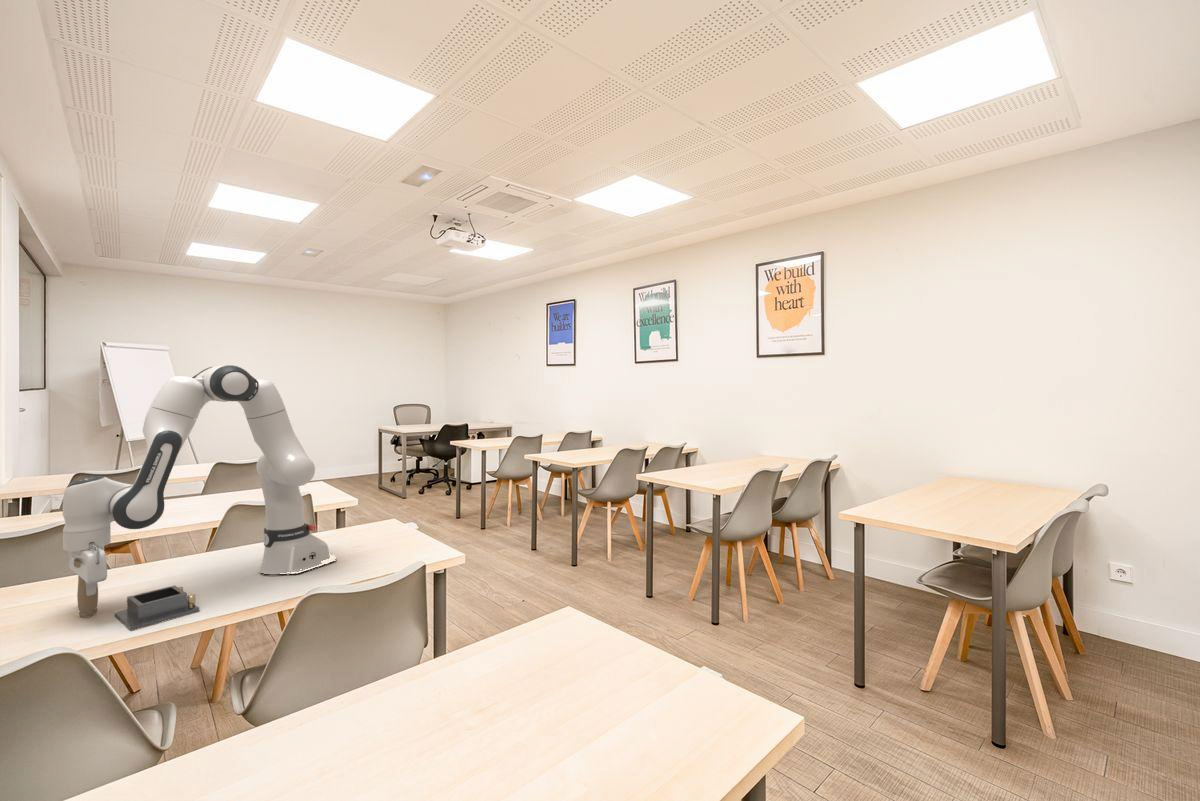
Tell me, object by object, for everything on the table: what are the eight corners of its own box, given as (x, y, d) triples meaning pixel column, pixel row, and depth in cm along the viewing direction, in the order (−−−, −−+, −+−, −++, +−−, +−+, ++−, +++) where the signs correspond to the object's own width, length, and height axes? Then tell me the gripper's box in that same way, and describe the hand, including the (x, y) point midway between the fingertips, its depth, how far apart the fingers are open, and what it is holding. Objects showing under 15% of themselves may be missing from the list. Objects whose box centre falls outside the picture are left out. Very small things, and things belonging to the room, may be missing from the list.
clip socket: (180, 598, 146) (180, 581, 146) (199, 611, 138) (199, 592, 138) (114, 616, 135) (114, 597, 135) (130, 630, 127) (130, 610, 127)
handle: (77, 622, 131) (77, 563, 131) (72, 615, 135) (71, 558, 135) (103, 615, 135) (103, 558, 135) (97, 609, 139) (97, 553, 139)
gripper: (115, 543, 131) (115, 597, 132) (93, 530, 143) (94, 580, 143) (80, 549, 126) (81, 605, 127) (61, 535, 138) (62, 587, 138)
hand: (88, 592), depth 135 cm, fingers closed on handle, 4 cm apart
